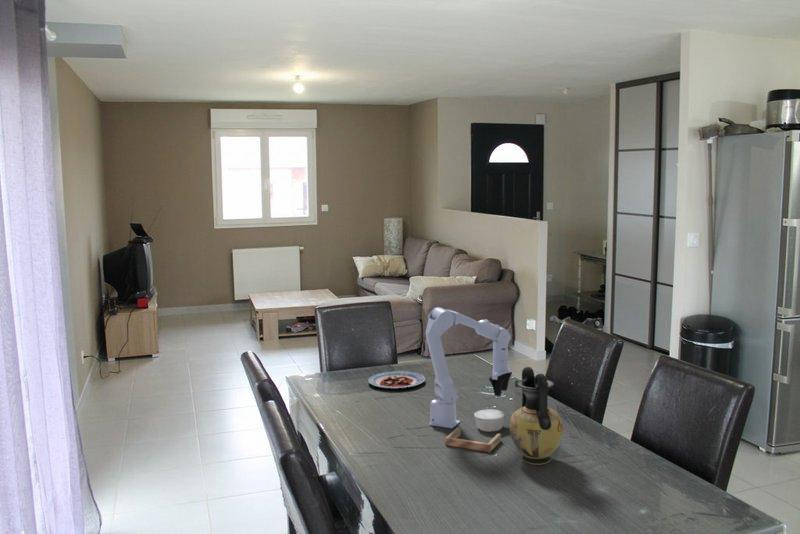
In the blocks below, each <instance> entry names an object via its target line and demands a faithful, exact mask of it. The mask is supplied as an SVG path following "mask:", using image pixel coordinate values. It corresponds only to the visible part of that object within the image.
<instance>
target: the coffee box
mask: <svg viewBox="0 0 800 534" xmlns="http://www.w3.org/2000/svg"><path fill="white" fill-rule="evenodd" d="M519 381H520V380H518V379H517V380H515V383H514V385H515V386H514V412H515V411H516V410H518V409H520V408H522V388H520V387H519V386H518V385H517V383H518V382H519Z"/></svg>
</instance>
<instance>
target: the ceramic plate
mask: <svg viewBox="0 0 800 534" xmlns="http://www.w3.org/2000/svg"><path fill="white" fill-rule="evenodd" d="M425 380H426V378H425V376H424V375H423V374H421V373H420V374H419V373H417V372H411V371H405V370H404V371H399V370H398V371H397V370H396V371H386V372H385V371H384V372H381V373H377V374H374V375H372V376H370V377H369V378H368V380H367V381H368V383H369V384H370V385H372V386H373V387H374V386H375V387H378V388H382V389H389V388H390V389H391V390H400V389H399V388H401V389H407V387H408V388H411V387H416V386H418V385H419V386H420V385H421V384H423V382H425Z"/></svg>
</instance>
